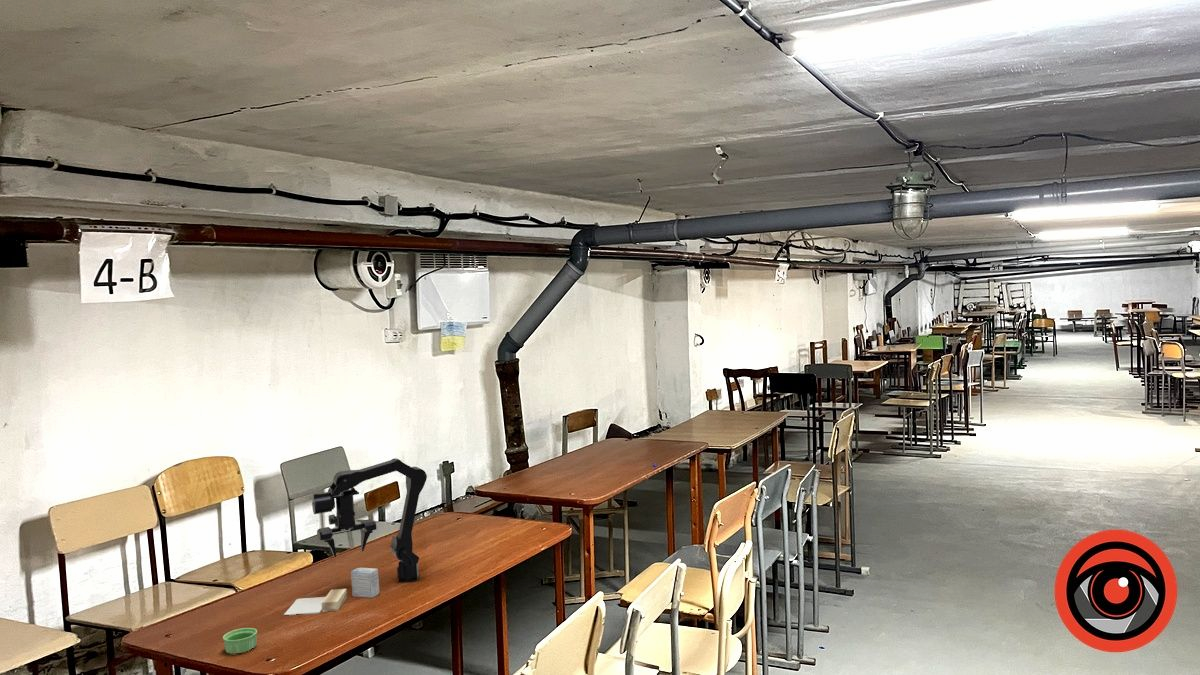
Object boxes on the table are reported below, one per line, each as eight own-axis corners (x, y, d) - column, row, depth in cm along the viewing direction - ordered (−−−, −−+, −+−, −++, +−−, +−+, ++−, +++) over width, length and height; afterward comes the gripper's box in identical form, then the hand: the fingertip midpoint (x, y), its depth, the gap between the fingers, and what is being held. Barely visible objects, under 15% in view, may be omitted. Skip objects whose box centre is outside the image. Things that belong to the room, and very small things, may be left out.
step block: (347, 597, 268) (346, 588, 267) (338, 610, 256) (337, 601, 255) (331, 598, 267) (331, 589, 267) (322, 612, 255) (321, 602, 255)
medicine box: (379, 593, 270) (378, 568, 269) (372, 598, 266) (370, 572, 265) (360, 592, 272) (358, 567, 272) (352, 596, 268) (350, 571, 268)
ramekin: (216, 653, 226) (215, 638, 226) (241, 641, 235) (240, 626, 235) (241, 657, 223) (240, 641, 223) (265, 644, 232) (264, 629, 232)
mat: (331, 597, 268) (330, 596, 268) (319, 613, 254) (319, 612, 254) (297, 600, 267) (297, 598, 267) (283, 615, 253) (283, 614, 253)
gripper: (366, 499, 285) (369, 543, 285) (311, 509, 275) (315, 554, 276) (375, 505, 275) (378, 550, 276) (318, 515, 266) (322, 562, 266)
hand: (348, 554), depth 274 cm, fingers open, 9 cm apart
